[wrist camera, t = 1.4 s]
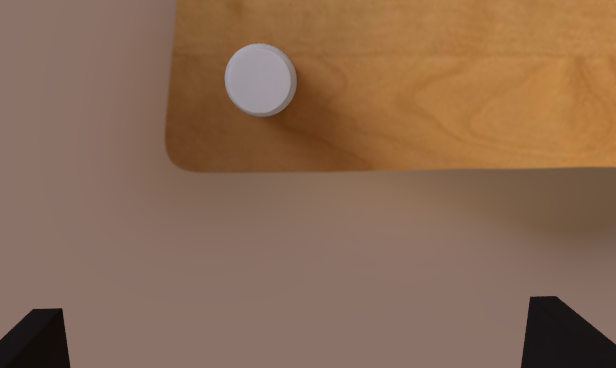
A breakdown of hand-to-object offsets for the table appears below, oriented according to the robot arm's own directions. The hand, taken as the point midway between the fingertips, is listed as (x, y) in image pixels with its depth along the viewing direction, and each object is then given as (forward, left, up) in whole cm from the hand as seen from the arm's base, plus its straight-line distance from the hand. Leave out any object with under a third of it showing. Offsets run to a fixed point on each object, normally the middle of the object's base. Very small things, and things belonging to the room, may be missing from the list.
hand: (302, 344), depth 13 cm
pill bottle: (-5, +5, -25) cm, 26 cm away
